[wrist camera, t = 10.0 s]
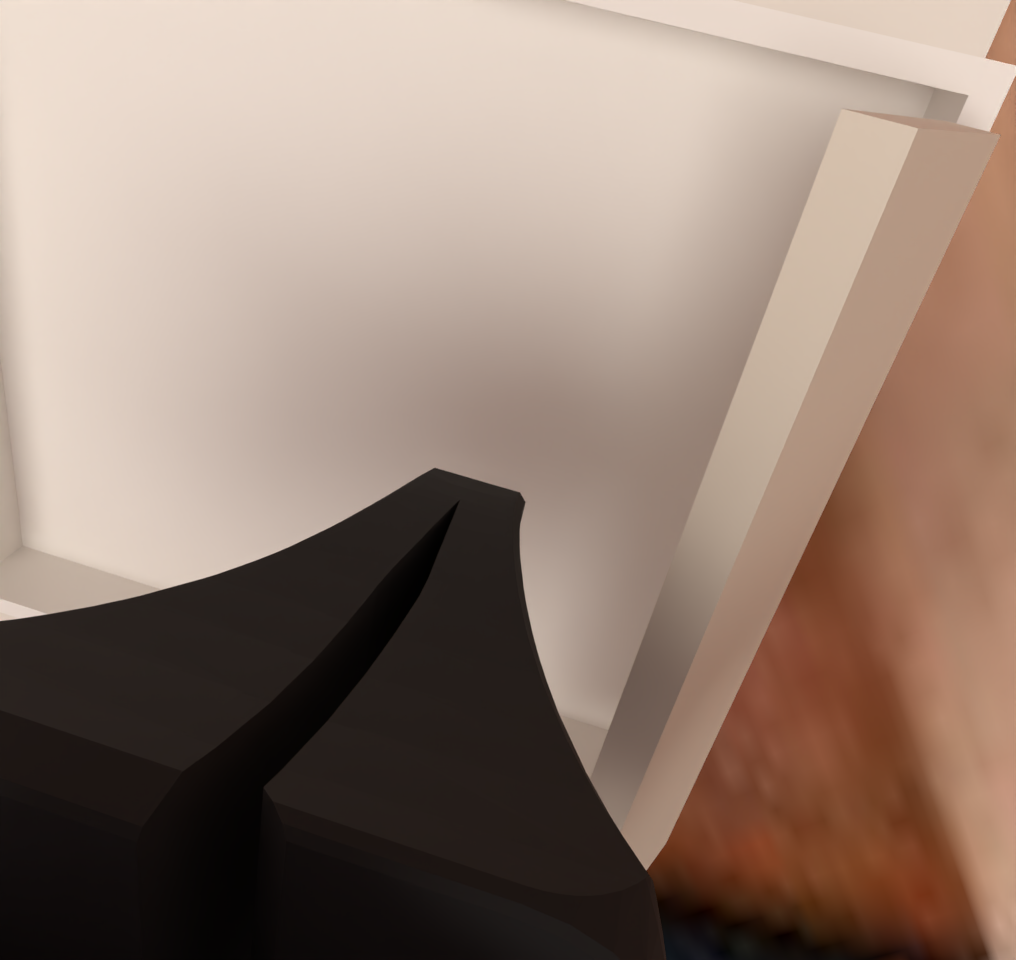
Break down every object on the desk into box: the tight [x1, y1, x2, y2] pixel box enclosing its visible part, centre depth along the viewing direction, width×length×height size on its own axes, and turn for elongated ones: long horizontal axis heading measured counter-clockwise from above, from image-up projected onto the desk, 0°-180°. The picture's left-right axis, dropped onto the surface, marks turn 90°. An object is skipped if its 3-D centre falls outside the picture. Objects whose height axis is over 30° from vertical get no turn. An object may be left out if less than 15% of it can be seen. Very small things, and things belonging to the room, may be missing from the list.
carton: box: [0, 0, 1016, 778], centre depth 15 cm, size 20×16×2 cm
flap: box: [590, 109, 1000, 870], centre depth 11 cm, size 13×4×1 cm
